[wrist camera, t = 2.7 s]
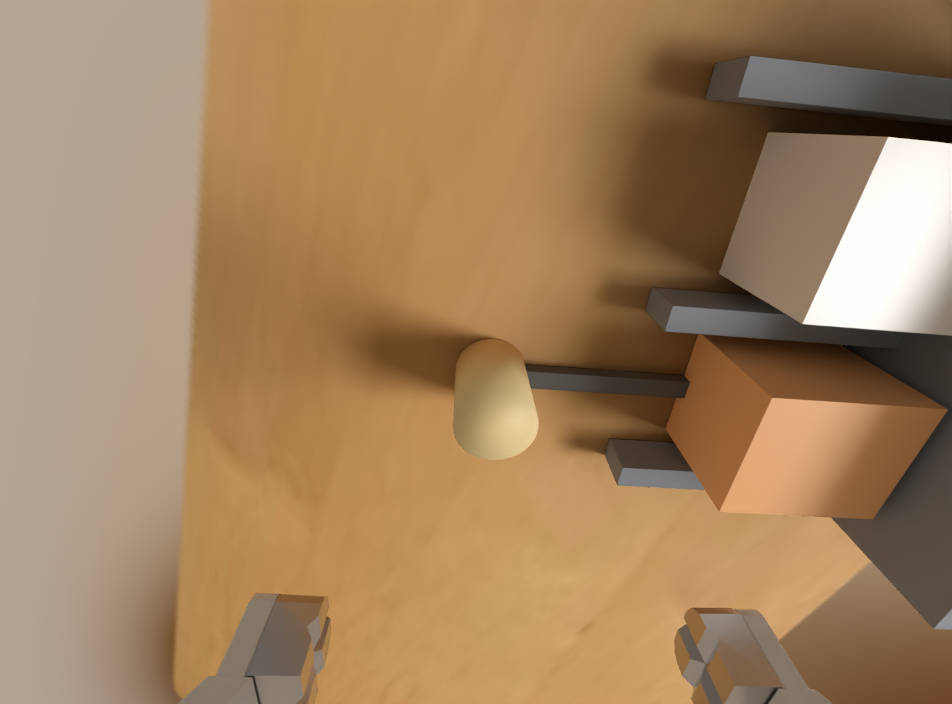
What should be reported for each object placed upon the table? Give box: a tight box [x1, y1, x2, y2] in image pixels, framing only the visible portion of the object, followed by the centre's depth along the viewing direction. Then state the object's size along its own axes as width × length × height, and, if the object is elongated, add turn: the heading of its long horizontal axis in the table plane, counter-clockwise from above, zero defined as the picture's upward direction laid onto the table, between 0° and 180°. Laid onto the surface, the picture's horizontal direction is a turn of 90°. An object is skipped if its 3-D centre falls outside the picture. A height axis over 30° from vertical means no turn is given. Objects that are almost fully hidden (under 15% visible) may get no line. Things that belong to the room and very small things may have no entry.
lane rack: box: [605, 56, 952, 629], centre depth 15 cm, size 16×10×8 cm, turn 175°
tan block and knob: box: [453, 334, 948, 519], centre depth 17 cm, size 5×16×5 cm, turn 85°
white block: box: [719, 132, 952, 336], centre depth 15 cm, size 5×6×5 cm
